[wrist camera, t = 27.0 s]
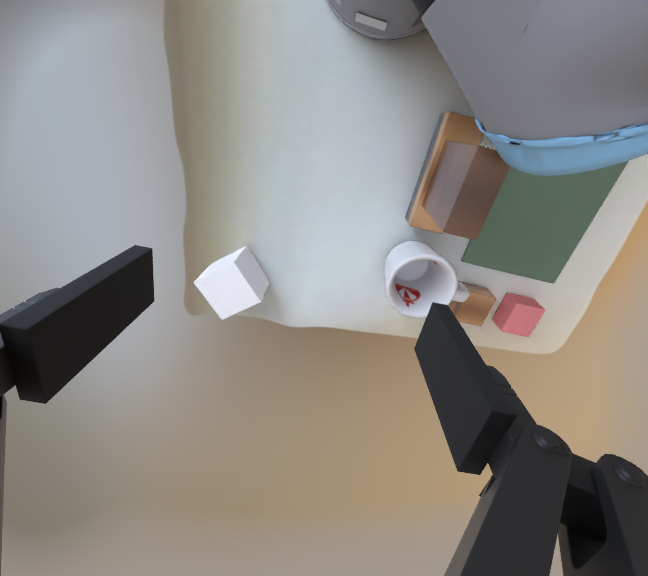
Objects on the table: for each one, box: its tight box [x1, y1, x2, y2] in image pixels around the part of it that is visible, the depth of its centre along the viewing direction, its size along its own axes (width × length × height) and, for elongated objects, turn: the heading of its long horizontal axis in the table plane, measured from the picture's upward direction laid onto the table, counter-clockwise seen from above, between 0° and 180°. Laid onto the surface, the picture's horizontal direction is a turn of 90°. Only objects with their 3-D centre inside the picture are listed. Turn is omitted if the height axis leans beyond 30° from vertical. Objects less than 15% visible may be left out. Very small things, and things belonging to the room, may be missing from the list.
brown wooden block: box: [405, 112, 510, 240], centre depth 33 cm, size 12×4×14 cm, turn 167°
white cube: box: [194, 246, 270, 320], centre depth 43 cm, size 6×6×6 cm
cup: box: [384, 241, 470, 318], centre depth 40 cm, size 11×8×8 cm
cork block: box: [449, 282, 496, 326], centre depth 45 cm, size 4×4×3 cm
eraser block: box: [492, 293, 545, 337], centre depth 45 cm, size 4×4×3 cm
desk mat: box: [461, 160, 629, 283], centre depth 40 cm, size 18×13×1 cm
